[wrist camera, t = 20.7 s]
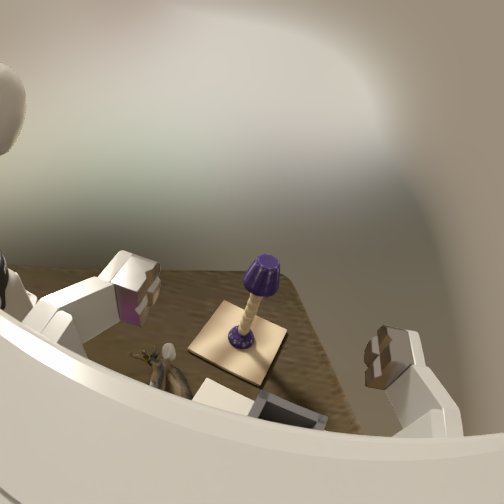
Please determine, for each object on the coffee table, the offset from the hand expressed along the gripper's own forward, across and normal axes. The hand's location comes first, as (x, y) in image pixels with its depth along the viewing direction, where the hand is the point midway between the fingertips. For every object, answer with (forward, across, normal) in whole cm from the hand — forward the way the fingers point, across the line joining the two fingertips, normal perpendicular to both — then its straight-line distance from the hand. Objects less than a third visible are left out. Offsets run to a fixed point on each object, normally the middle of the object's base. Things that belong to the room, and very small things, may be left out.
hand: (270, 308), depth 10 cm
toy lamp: (+22, 0, +32) cm, 38 cm away
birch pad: (+22, 0, +32) cm, 39 cm away
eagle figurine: (+10, +8, +32) cm, 35 cm away
